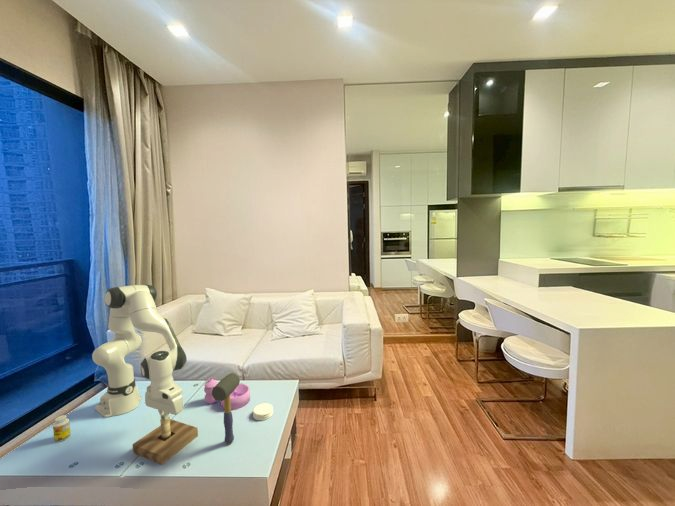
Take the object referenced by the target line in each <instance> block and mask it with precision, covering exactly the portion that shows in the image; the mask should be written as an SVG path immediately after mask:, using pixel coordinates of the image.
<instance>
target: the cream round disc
mask: <svg viewBox="0 0 675 506" xmlns="http://www.w3.org/2000/svg"><path fill="white" fill-rule="evenodd" d="M252 415H253V416H252V417H253V419H254V420H256V421H259V422H261V421H266V420H268V419H270V418H271V417H272V416H273V415H274V407H273V405H272V404H271V403H267V402H266V403H265V402H264V403H260V404H257V405H256V406H255V407H254V408H253V410H252Z"/></svg>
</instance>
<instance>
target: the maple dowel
mask: <svg viewBox="0 0 675 506" xmlns="http://www.w3.org/2000/svg"><path fill="white" fill-rule="evenodd" d="M170 419H171V417H170V416H169V418H168V419H167V420H164V419H161V418H160V426H161V435H162V436H161V437H162V441H166V440H167V439H169V438H170V437H171V429H170Z"/></svg>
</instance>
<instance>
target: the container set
mask: <svg viewBox="0 0 675 506" xmlns="http://www.w3.org/2000/svg"><path fill="white" fill-rule="evenodd" d="M218 383H219V382H218V380H216V379H213V377H210V378H209V377H208V379H207V381H206V382H204V388H203V391H204V393H205V395H204V401H205V403H207V404H208V403H209V404H210V405H212V404H215V403H216V402H218V401H217V400H215V399H214V398H213V396H212V390H213V388H214V387H215V386H216V385H217V384H218ZM250 394H251V393H250V386H249V385H248V384H246V383H239V385H238V386H237V388H236V389H235V390H234V391H233V392H232V393H231V394H230V405H231V411H235V410H240V409H241V408H244V407H246V405H248V404H249V403H250V400H251V397H250ZM214 402H215V403H214ZM211 403H212V404H211ZM220 407H221V408H222V410H225V407H224V400H223V401H220Z"/></svg>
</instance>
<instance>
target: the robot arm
mask: <svg viewBox="0 0 675 506" xmlns="http://www.w3.org/2000/svg"><path fill="white" fill-rule="evenodd" d="M157 292H158V291H157V289H156V288H155V286H154V285H152V284H151V285H150V284H131V285H125V286H124V285H123V286H115V287H111V288H108V290H106V292H105V295H104V302H105V305H106V306H107V307H108V308H110V310H109V318H108V326H107V327H108V329H109V331H110V332H112V333H113V334H114V338H113V339H111V340H109V341H107V342H105V343H103V344H101V345H99V346H98V347H97V348H95V349H94V350H93V352H92V353H91V355H92V356H91V357H92V361H93V363H94V364H96V365H97V366H100V367H103V368H104V369H105V371H106V375H107V381H108V384H107V385H106V388H107V391H106V392H105V393H104V394H103V395H101V396H100V398H99V403H98V404H97V405H96V406H95V407H94V410H95V411H97V413H99V415H101V416H102V417H103V418H111V417H113V416H114V417H115V416H118V415H119V416H120V415H123V414H127V413H128V412H131V411H133V410H135V409H136V408H137V407H139V405H140V401H141V400H142V396H140V392H139V388H138V387H139V386H138V385H136V382H137V381H136V378H134V377H135V376H134V375H135V374H134V366H133V365H132V364H131V363H128V362H126V361H125V357H126V356H128V355H130V354H132V353H134V352H135V351H136V350H138V349H139V348H140V347H141V345H142V342H143V339H142V337H141V335H140V334H139V333H137V332H136V330H138V331H142V332H146V333H147V332H149V333H157V334H161V335H162V336H163V338H164V339H165V342H166V344H167V346H168V348H169V350H159V351H155V352H153V353H152V354H150V355H148V356H146V357H144V358H143V359H142V360H141V362H140V372H141V377H143V378H144V379H148V380H150V384H149V385H148V386H147V387H146V391H145V394H144V395H145V396H144V404H145V406H146V407H148V408H152V409H154V410H155V409H156V410H157V411H158V413H159V415H160V419H164V420H167V419H168V418H169V417H170V414H171V415H174V416H177V415H178V414H181V413H182V411H183V410H184V397H183V395H182V393H183V388H182V387H180V386H179V385H178V384H177V383H176V382H175V381H174V377H173V372H174V371H178V370H181V369H182V368H184V366H185V365H186V363H187V361H188V360H187V355H186V352H185V351H184V349H183V347H182V345H181V344H180V342H179V339H178V338H177V335H176V333H175V332H174V329H173V327H172V326H171V323H170V322H169V320H168V319H167V318H164V317H162V315H160V314H159V312H158V309H157V306H156V302H155V301H156V299H157ZM135 329H136V330H135Z"/></svg>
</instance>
